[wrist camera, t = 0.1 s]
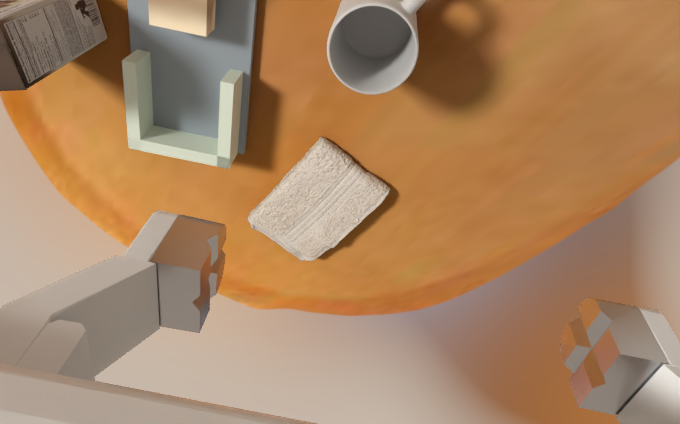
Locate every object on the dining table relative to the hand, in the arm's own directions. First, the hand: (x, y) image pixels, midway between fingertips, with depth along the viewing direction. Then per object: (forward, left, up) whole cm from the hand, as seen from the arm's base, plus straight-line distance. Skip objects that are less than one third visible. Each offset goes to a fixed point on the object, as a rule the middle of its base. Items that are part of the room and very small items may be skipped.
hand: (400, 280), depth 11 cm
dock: (+14, -21, -48) cm, 54 cm away
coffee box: (+13, -36, -48) cm, 62 cm away
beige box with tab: (+7, -21, -47) cm, 52 cm away
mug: (+5, 0, -48) cm, 48 cm away
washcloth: (+32, -4, -49) cm, 58 cm away
